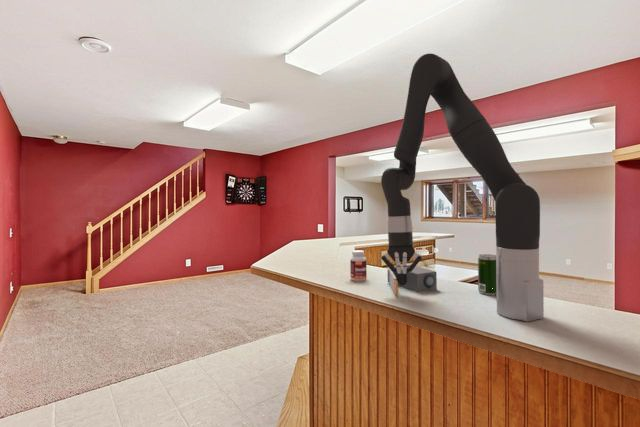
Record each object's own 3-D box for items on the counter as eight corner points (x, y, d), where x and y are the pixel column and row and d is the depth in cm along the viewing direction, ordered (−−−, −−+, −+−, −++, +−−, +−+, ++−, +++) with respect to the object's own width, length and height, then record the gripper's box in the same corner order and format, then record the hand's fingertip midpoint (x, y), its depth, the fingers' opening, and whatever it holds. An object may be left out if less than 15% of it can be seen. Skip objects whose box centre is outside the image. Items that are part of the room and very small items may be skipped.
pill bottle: (355, 282, 118) (354, 252, 118) (347, 278, 124) (347, 250, 123) (369, 280, 120) (369, 251, 120) (361, 277, 126) (361, 249, 126)
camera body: (437, 289, 105) (437, 270, 105) (418, 292, 102) (418, 272, 102) (409, 280, 118) (409, 263, 118) (391, 282, 115) (391, 265, 115)
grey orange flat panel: (398, 295, 98) (397, 280, 98) (393, 295, 98) (393, 280, 98) (391, 281, 116) (391, 269, 115) (387, 281, 116) (387, 269, 116)
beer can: (491, 296, 96) (491, 257, 96) (474, 292, 101) (474, 255, 100) (500, 293, 99) (500, 255, 99) (484, 289, 104) (483, 253, 103)
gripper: (377, 231, 99) (380, 287, 99) (421, 230, 95) (424, 288, 95) (380, 230, 106) (383, 282, 106) (421, 229, 102) (424, 282, 102)
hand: (402, 284), depth 100 cm, fingers closed
